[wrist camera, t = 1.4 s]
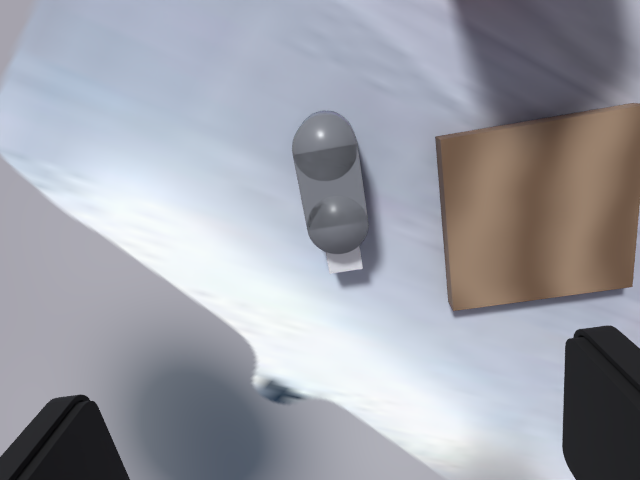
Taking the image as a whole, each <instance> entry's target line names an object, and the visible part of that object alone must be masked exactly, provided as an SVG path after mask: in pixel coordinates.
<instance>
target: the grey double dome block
mask: <svg viewBox="0 0 640 480" xmlns="http://www.w3.org/2000/svg"><path fill="white" fill-rule="evenodd" d="M292 152H293V158H294V164H295V169H296V174H297V179H298V184H299V189H300V194H301V200H302V205H303V210H304V215H305V220H306V225H307V230H308V234H309V237H310V239H311V240H312V242H313V243H314V244H315V245H316V246H317V247H318V248H319V249H321V250H323V251H325V252H326V256H327V262H328V267H329V273H330V274H331V273H338V272H345V271H352V270H358V269H363V266H362V260H361V253H360V247H359V245H360V244H361V243H362V242H363V241H364V239H365V237H366V235H367V232H368V216H367V209H366V202H365V195H364V188H363V181H362V174H361V167H360V160H359V153H358V146H357V140H356V137H355V134H354V132H353V129H352V127H351V125H350V123H349V122H348V121H347V120H346V119H345V118H344V117H343V116H341V115H340V114H338V113H336V112H332V111H320V112H316V113H314V114H312V115H310V116H309V117H308V118H307V119H306V120H305V121H304V122H303V123H302V125H301V126H300V127H299V129H298V130H297V132H296V134H295V136H294V139H293V144H292Z"/></svg>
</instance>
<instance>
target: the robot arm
mask: <svg viewBox="0 0 640 480" xmlns="http://www.w3.org/2000/svg"><path fill="white" fill-rule="evenodd" d="M562 447H563V454H564V458H565V461H566V463H567V465H568V467H569V469H570V471H571V472H572V474H573V476H574V477H575V479H576V480H640V348H638V347H637V346H636V345H635V344H634V343H633V342H632V341H630V340H629V339H628V338H627V337H626V336H625V335H623V334H622V333H621V332H620V331H619V330H618V329H616V328H615V327H613V326H601V327H593V328H586V329H579V330H577V331H576V332H575V334H574V338H571V339H568V340H567V341H566V346H565V377H564V411H563V444H562ZM0 480H130V479H129V477H128V474H127V472H126V470H125V467H124V466H123V463H122V461H121V458H120V456H119V454H118V451H117V449H116V447H115V445H114V442H113V440H112V438H111V435H110V433H109V431H108V429H107V426H106V424H105V422H104V419H103V417H102V415H101V412H100V410H99V408H98V406H97V404H96V403H95V402H94V401H90V400H89V398H88V397H87V396H85V395H75V396H67V397H59V398H55V399H52V400H51V401H50V402H48V403H47V404H46V406H45V407H44V408H43V409H42V410H41V411H40V412H39V413H38V415H37V416H36V417H35V418H34V419H33V420H32V422H31V423H30V424H29V425H28V426H27V427H26V428H25V429H24V431H23V432H22V433H21V434H20V435H19V436H18V437H17V439H16V440H15V441H14V442H13V443H12V444H11V445H10V447H9V448H8V449H7V450H6V451H5V452H4V453H3V455H2V456H1V457H0Z"/></svg>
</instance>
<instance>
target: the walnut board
mask: <svg viewBox="0 0 640 480" xmlns="http://www.w3.org/2000/svg"><path fill="white" fill-rule="evenodd" d="M435 138H436V151H437V164H438V177H439V189H440V202H441V215H442V227H443V240H444V253H445V265H446V278H447V291H448V302H449V304H450V306H451V308H452V309H453V311H457V310H464V309H472V308H479V307H487V306H494V305H502V304H509V303H516V302H524V301H531V300H539V299H546V298H554V297H561V296H569V295H576V294H583V293H591V292H598V291H606V290H613V289H621V288H628V287H632V284H633V273H634V262H635V250H636V239H637V227H638V216H639V205H640V104H637V103H631V104H625V105H619V106H613V107H607V108H601V109H595V110H589V111H584V112H578V113H572V114H566V115H560V116H554V117H548V118H542V119H536V120H531V121H525V122H519V123H513V124H507V125H501V126H495V127H489V128H483V129H478V130H472V131H466V132H460V133H454V134H448V135H442V136H436V137H435Z"/></svg>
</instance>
